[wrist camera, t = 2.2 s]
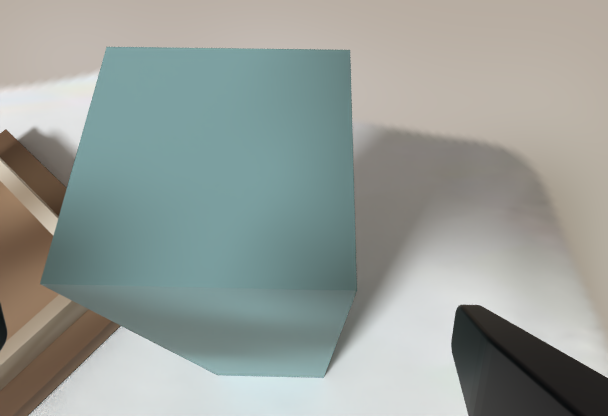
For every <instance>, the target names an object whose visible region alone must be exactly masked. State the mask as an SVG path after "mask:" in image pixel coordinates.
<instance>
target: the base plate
mask: <svg viewBox="0 0 608 416" xmlns="http://www.w3.org/2000/svg"><path fill="white" fill-rule="evenodd" d="M66 189H67V188H66V187H65V186H64V185H63V184H62V183H61V182H60V181H59V180H58V179H57V178H56V177H55V176H54V175H53V174H52V173H50V172H49V171H48V170H47V169H46V168H45V167H44V166H43V165H42V164H41V163H40V162H39V161H38V160H37V159H36V158H35V157H34V156H33V155H32V154H31V153H30V152H29V151H28V150H27V149H26V148H25V147H24V146H23V145H22V144H21V143H20V142H19V141H18V140H17V139H15V138H14V137H13V136H12V135H11V134H10V133H9V132H8V131H7V130H4V131H3V132H2V133H0V303H1V306H2V311H3V315H4V319H5V323H6V327H7V340H6V342H5V345H4V346H3V348H2V350H1V351H0V416H28V415H29V414H30V413H31V412H32V411H33V410H34V409H35V408H36V407H37V406H38V405H39V404H40V403H41V402H42V401H43V400H44V399H45V398H46V397H47V396H48V395H49V394H50V393H51V392H52V391H53V390H54V389H55V388H57V387H58V386H59V385H60V384H61V383H62V382H63V381H64V380H65V379H66V378H67V377H68V376H69V375H70V374H71V373H72V372H73V371H74V370H75V369H76V368H77V367H78V366H79V365H80V364H81V363H82V362H83V361H84V360H86V359H87V358H88V357H89V356H90V355H91V354H92V353H93V352H94V351H95V350H96V349H97V348H98V347H99V346H100V345H101V344H102V343H103V342H104V341H105V340H106V339H107V338H108V337H109V336H110V335H111V334H112V333H113V332H115V331H116V330H117V329H118V328H119V327H120V326H121V325H119V324H117V323H115V322H113V321H111V320H109V319H107V318H105V317H103V316H101V315H99V314H97V313H95V312H93V311H91V310H89V309H87V308H86V307H84V306H82V305H80V304H78V303H76V302H74V301H72V300H70V299H68V298H66V297H64V296H62V295H60V294H58V293H56V292H54V291H52V290H50V289H48V288H47V287H45V286H43V285H41V284H40V282H41V278H42V275H43V271H44V267H45V264H46V260H47V257H48V253H49V250H50V246H51V243H52V239H53V236H54V232H55V228H56V225H57V221H58V218H59V214H60V211H61V207H62V204H63V200H64V197H65V193H66Z"/></svg>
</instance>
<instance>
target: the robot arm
mask: <svg viewBox="0 0 608 416" xmlns="http://www.w3.org/2000/svg"><path fill="white" fill-rule="evenodd" d="M6 340H7V327H6V323H5V319H4V315H3V311H2V306H1V303H0V351H1V350H2V348H3V346H4V345H5V342H6ZM451 347H452V354H453V358H454V362H455V366H456V369H457V373H458V377H459V381H460V385H461V388H462V392H463V396H464V400H465V404H466V407H467V411H468V415H469V416H608V378H607V377H605V376H603V375H601V374H600V373H598V372H596V371H594V370H593V369H591V368H589V367H587V366H586V365H584V364H582V363H580V362H579V361H577V360H575V359H573V358H572V357H570V356H568V355H566V354H565V353H563V352H561V351H559V350H558V349H556V348H554V347H552V346H551V345H549V344H547V343H545V342H544V341H542V340H540V339H538V338H537V337H535V336H533V335H531V334H530V333H528V332H526V331H524V330H523V329H521V328H519V327H517V326H516V325H514V324H512V323H510V322H509V321H507V320H505V319H503V318H501V317H500V316H498V315H496V314H494V313H493V312H491V311H489V310H487V309H486V308H484V307H482V306H480V305H460V306H458V307H457V310H456V313H455V320H454V327H453V334H452V342H451Z"/></svg>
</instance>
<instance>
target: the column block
mask: <svg viewBox="0 0 608 416" xmlns="http://www.w3.org/2000/svg"><path fill="white" fill-rule="evenodd" d="M350 68H351V64H350V50H315V49H314V50H313V49H312V50H311V49H309V50H308V49H236V48H232V49H231V48H156V47H107V48H106V51H105V55H104V58H103V62H102V65H101V69H100V72H99V76H98V80H97V83H96V87H95V90H94V94H93V97H92V101H91V104H90V108H89V111H88V115H87V119H86V122H85V126H84V129H83V133H82V136H81V140H80V143H79V147H78V150H77V154H76V158H75V161H74V165H73V168H72V172H71V175H70V179H69V182H68V186H67V189H66V193H65V197H64V200H63V204H62V207H61V211H60V214H59V218H58V221H57V225H56V228H55V232H54V236H53V239H52V243H51V246H50V250H49V253H48V257H47V260H46V264H45V267H44V271H43V275H42V278H41V282H40V284H41V285H43V286H45V287H47V288H48V289H50V290H52V291H54V292H56V293H58V294H60V295H62V296H64V297H66V298H68V299H70V300H72V301H74V302H76V303H78V304H80V305H82V306H84V307H86V308H87V309H89V310H91V311H93V312H95V313H97V314H99V315H101V316H103V317H105V318H107V319H109V320H111V321H113V322H115V323H117V324H119V325H121V326H123V327H125V328H126V329H128V330H130V331H132V332H134V333H136V334H138V335H140V336H142V337H144V338H146V339H148V340H150V341H152V342H154V343H156V344H158V345H160V346H162V347H163V348H165V349H167V350H169V351H171V352H173V353H175V354H177V355H179V356H181V357H183V358H185V359H187V360H189V361H191V362H193V363H195V364H197V365H199V366H201V367H202V368H204V369H206V370H208V371H210V372H212V373H214V374H216V375H231V376H273V377H315V378H324V375H325V373H326V370H327V368H328V365H329V362H330V360H331V357H332V354H333V352H334V349H335V347H336V344H337V341H338V339H339V336H340V334H341V331H342V328H343V326H344V323H345V320H346V318H347V315H348V313H349V310H350V307H351V305H352V302H353V299H354V297H355V294H356V292H357V278H356V242H355V207H354V171H353V135H352V103H351V101H352V100H351V69H350Z"/></svg>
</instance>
